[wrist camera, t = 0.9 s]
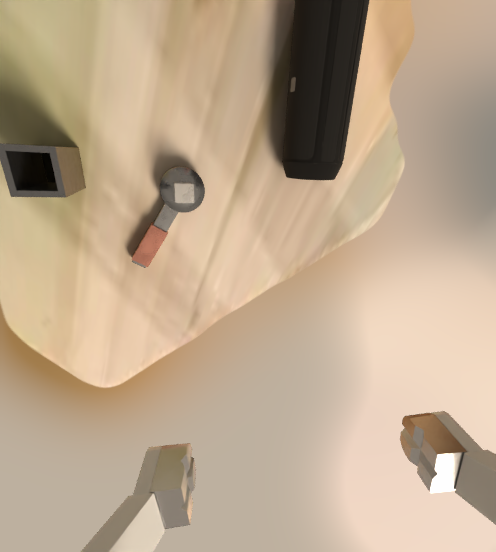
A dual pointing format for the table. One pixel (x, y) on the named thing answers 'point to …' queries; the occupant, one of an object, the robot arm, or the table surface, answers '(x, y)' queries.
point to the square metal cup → (41, 170)
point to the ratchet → (170, 209)
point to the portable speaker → (322, 85)
